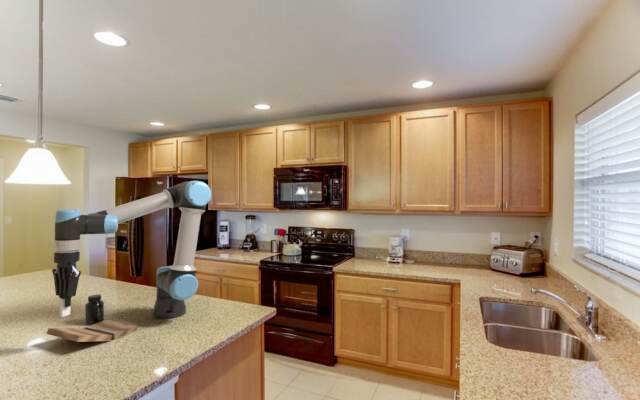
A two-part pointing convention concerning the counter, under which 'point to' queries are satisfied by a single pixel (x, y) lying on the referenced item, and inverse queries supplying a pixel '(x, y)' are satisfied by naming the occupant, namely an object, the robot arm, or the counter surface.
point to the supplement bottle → (94, 310)
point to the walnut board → (112, 328)
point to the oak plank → (79, 334)
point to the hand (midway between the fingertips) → (65, 315)
